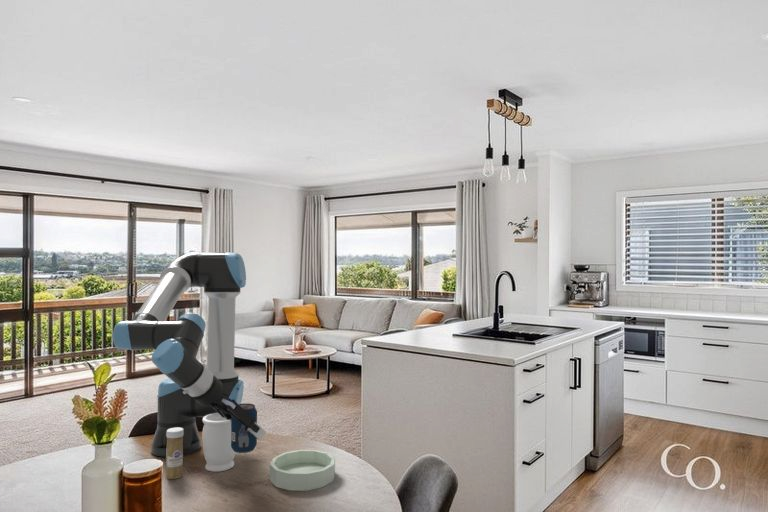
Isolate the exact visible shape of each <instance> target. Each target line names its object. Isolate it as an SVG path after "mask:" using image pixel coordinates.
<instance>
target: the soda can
mask: <svg viewBox="0 0 768 512" xmlns="http://www.w3.org/2000/svg"><path fill="white" fill-rule="evenodd" d="M238 405H240V406H241V407H242V408H243V409H244V410H245V411H246V412H248V413H249V414H250V415H251V416H252V417H253V418H255V419H256V423H257V424H258V411H257V408H256V405H255V404H253V403H248V402H247V403H241V404H238ZM245 427H246V426H244V425H243V424H242V423H240V422H239V421H238V420H236V419H235V418H234V417H233V416H231V447H232V449H233V451H234V452H236V453H237V454H247V453H251V452H253V451H254V450H255V448H256V447H257V444H258V439H257V438H256V437H255V436H254V435H253V434H252V433H251V432H249V431H248V430H247V431H246V430H245Z"/></svg>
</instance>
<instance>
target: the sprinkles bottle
mask: <svg viewBox="0 0 768 512" xmlns="http://www.w3.org/2000/svg"><path fill="white" fill-rule="evenodd" d="M183 435H184V429H183V428H180V427H175V428H170V429H168V430H167V433H166V437H167V448H166V457H165V465H166V466H165V467H166V468H165V469H166V470H165V471H166V472H165V478H166V479H168V480H176V479H179V478H181V477H182V476H183V463H184V462H183V460H184V459H183V458H184V455H183Z"/></svg>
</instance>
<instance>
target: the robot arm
mask: <svg viewBox="0 0 768 512" xmlns="http://www.w3.org/2000/svg"><path fill="white" fill-rule="evenodd" d="M246 284H247V272H246V265H245V262H244V259H243V257H242V255H241V254H239V253H237V252H229V251H226V252H225V251H222V252H221V251H218V252H217V251H209V252H207V251H194V252H188V253H186V254H183V255H181V256H179V257H177V258H175V259H174V260H172V261H171V262H169V263H168V265H166V266H165V267H164V268H163V270H162V271H161V273H160V275H159V282H158V283H156V286H154V289H152V291H151V292H150V294H149V295H148V297H147V298H146V299H145V301H144V302H143V304H142V305H141V307H140V308H139V309H138V310H137V313H136V314H135V315H134V317H132V319H131V320H128V319H127V320H123V321H122V320H121V321H118V322H117V323H116V324H115V325H114V328H113V331H112V341H113V345H114V347H115V348H116V349H118V350H125V351H127V350H130V351H141V350H142V351H153V352H152V354H151V362H152V364H153V365H154V366H155V367H156V368H157V369H158V370H159V371H160V372H161V373H162V374H164V375H165V376H166V377H167V379H164V380H162V381H161V382H160V383H159V385H158V387H157V388H158V390H157V391H158V392H157V397H156V398H157V422H156V423H157V425H156V430H155V433H154V434H153V435H154V436H153V439H152V441H151V443H150V444H151V445H150V453H151V454H152V455H153V456H157V457H162V458H166V448H167V437H166V433H167V430H168V429H170V428H175V427H180V428H183V429H184V435H183V456H185V455H190V454H192V453H195V452H196V451H198V450H199V449H200V448H201V445H202V438H201V436H200V432H199V430H198V427H197V423H196V418H203V417H204V416H206V415H209V414H213V413H219V414H220V415H221V417H223V418H224V417H225V418H226V419H227V420H230V422H231V416H233V417H234V418H235V419H236V420H238V421H239V422H240V423H242V424H243V425H244V426H246V427H245V430H246V431H247V430H248V431H249V432H251V433H252V434H253V435H254V436H255V437H256V438H257V441H262V439H264V437H265V435H266V433H267V431H266V430H265V429H264V428H263V427H261V425H259V423H258V422H257V423H256V419H255V418H253V417H252V416H251V415H250V414H249V413H248V412H246V411H245V410H244V409H243V408H242V407H241V406H240V405H238V404H242V401H243V396H244V390H245V389H244V388H245V386H244V384H245V383H244V381H243V380H242V379H239V375H240V374H239V373H238V372H237V371H236V370H235V342H236V341H235V340H236V339H235V336H236V298H237V297H238V296H239V295H240V294H241V289H242V288H245V286H246ZM195 287H196V288H197V287H198V288H203V292H204V294H205V295H206V297H208V310H207V314H208V315H207V349H206V350H207V351H206V353H207V355H206V356H207V358H206V366H205V365H204V364H203V363H202V362H200V361H199V360H198V359H197V355H198V352H199V349H200V347H201V343H202V341H203V339H204V336H205V330H206V321H205V319H204V318H203V317H202V316H201V315H199V314H197V313H194V312H186V313H184V314H181V315H180V316H179V318H178V319H177V320H176V321H175V320H173V321H172V320H169V321H168V320H167V318H168V317H169V314H170V313H171V312H172V310H173V309H174V307H175V305H176V303H177V302H178V300H179V299H180V297H181V295H182V294H183V293H185V292H187V291H188V290H189V289H190V288H195Z"/></svg>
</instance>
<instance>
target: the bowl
mask: <svg viewBox="0 0 768 512" xmlns="http://www.w3.org/2000/svg"><path fill="white" fill-rule="evenodd" d="M335 475H336V457H334V456H333V455H332V454H331V453H329V452H326V451H322V450H318V449H317V450H316V449H298V450H297V449H296V450H291V451H286V452H283V453H281V454H279V455H277V456H275V457H273V458H272V460H271V462H270V463H269V481H270V482H271V483H272V484H273V486H274V487H275V488H279V489H283V490H286V491H289V492H290V491H301V492H304V491H306V492H307V491H313V490H315V489H321V488H324V487H326V486H328V485H329V484H331V483H332V482H333V481H335Z"/></svg>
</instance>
